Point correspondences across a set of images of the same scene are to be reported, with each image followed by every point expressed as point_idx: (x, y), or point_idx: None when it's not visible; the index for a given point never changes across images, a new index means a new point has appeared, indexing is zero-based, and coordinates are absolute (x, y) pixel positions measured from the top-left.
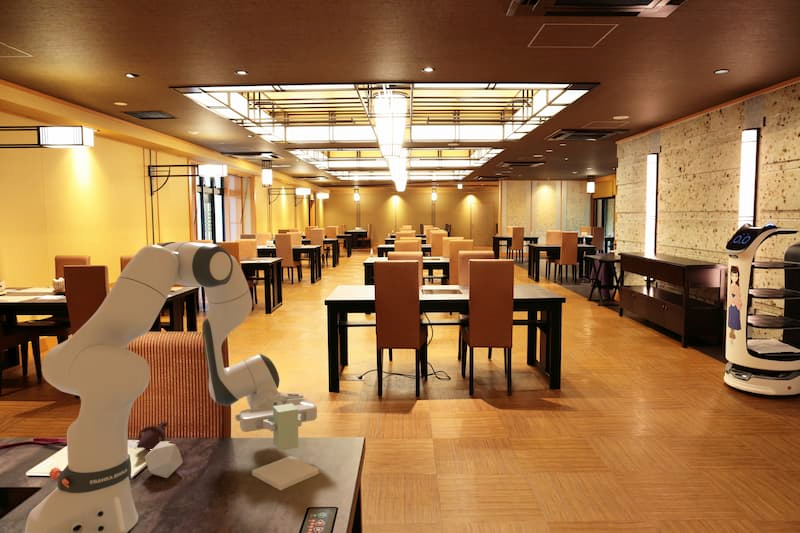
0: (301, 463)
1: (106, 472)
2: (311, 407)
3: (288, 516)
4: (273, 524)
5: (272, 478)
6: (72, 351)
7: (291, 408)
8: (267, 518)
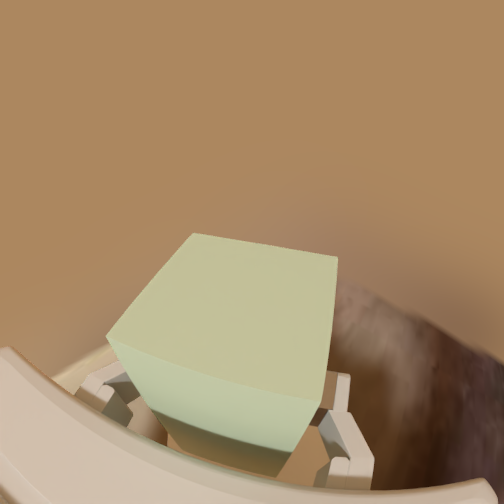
0: (179, 449)
1: None
2: (8, 357)
3: (338, 299)
4: (368, 295)
5: (312, 427)
6: None
7: (213, 258)
8: (373, 312)
